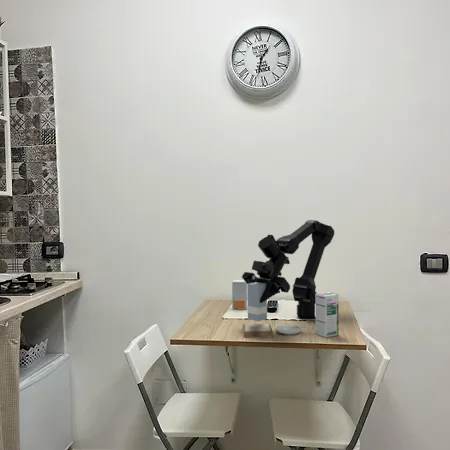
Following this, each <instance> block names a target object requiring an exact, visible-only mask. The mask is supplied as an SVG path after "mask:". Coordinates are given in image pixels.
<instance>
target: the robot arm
mask: <svg viewBox="0 0 450 450" xmlns="http://www.w3.org/2000/svg"><path fill="white" fill-rule="evenodd" d="M310 236H311V240H312V245H311V249H310V252H309V255H308V258H307V261H306V263H305V266H304V269H303V272H302V274H301V276H300V277H298V276H297V277H296V278H295V279H294V283H293V285H292V296H293V300H294V302H297V304H296V316H297V317H298V318H299V319H300V320H303V319H304V320H305V319H306V320H310V319H311V320H313V319H314V320H316V303H315V294H317V291H316V288H317V286H316V285H317V284H316V282H315V278H316V276H317V272H318V269H319V266H320V264H321V260H322V258H323V256H324V255H323V254H324V252H325V249H326V247H327V246H329V245H330V244H331V243H332V242H333V241H332V240H333V238H334V236H335V229H334V228H333V227H332V225H328V224H326V223H322V222H321V221H318V220H317V219H316V220H315V219H314V220H311V219H308V220H306V221H305V222H304V223H303V224H302V225H301V226H300V227H298V228H297V229H295V230H294V231H293V232H292V233H290V234H287V235H283V236H281V237H279V238H277V239H276V238H275V236H274V235H273V234H268V235H267V236H265V237H264V238H261V239H260V240H259V241H258V244H257V246H258V248H259V249H260V250H261V252H262V254H263V255H264V256H265V258H267V259H269V260H266V261H265V262H264V261H260V260H253V262H252V266H251V270H252V271H255V272H256V274H257V275H258V277H257V275H256V274H255V273H254V272H250V271H245V272H243V273H242V276H241V278H242V280H244V281H245V282H246V283H247V285H248V284H250V283H254V282H258V283H264V284H266V289H265V291H264V293H263V294H262V296H261V299H260V303H262V302H264V301H266V300H267V301H268V299H270V298H272V297H274V296H275V295H277V294H280V293H287V294H288V293H289V291H290V290H291V284H290V283H289V282H288V280H287V279H286V278H285V277H284V276H282V275H283V273H282V270H283V268H284V267H285V265H290V264H291V263H290V259H289V256H287V254H288V255H293V254H295V253H296V252H297V251H298V249H299V247H300V244H301V243H302V242H304V241H305V240H306V239H307V238H308V237H310Z"/></svg>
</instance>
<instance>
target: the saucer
mask: <svg viewBox="0 0 450 450" xmlns="http://www.w3.org/2000/svg"><path fill="white" fill-rule="evenodd" d="M275 331H276V332H277V333H280V334H283V335H295V334H299V333H301V332H302V327H301V326H299V325H296V324H295V325H294V324H280V325H277V326H276V327H275Z"/></svg>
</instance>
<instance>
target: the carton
mask: <svg viewBox="0 0 450 450" xmlns="http://www.w3.org/2000/svg"><path fill="white" fill-rule="evenodd" d="M265 289H266V284H264V283H258V282H254V283H250V284H247V320H250V321H255V322H260V321H261V322H262V321H264V320H268V304H267V303H268V299H267V300H266V301H264V302H262V303H260V299H261V296H262V294H263V293H264V291H265Z"/></svg>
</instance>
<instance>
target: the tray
mask: <svg viewBox="0 0 450 450" xmlns="http://www.w3.org/2000/svg"><path fill="white" fill-rule="evenodd" d="M242 333H243V338H272V337H274V331H273V329H272V325H271V323H243V324H242Z"/></svg>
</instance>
